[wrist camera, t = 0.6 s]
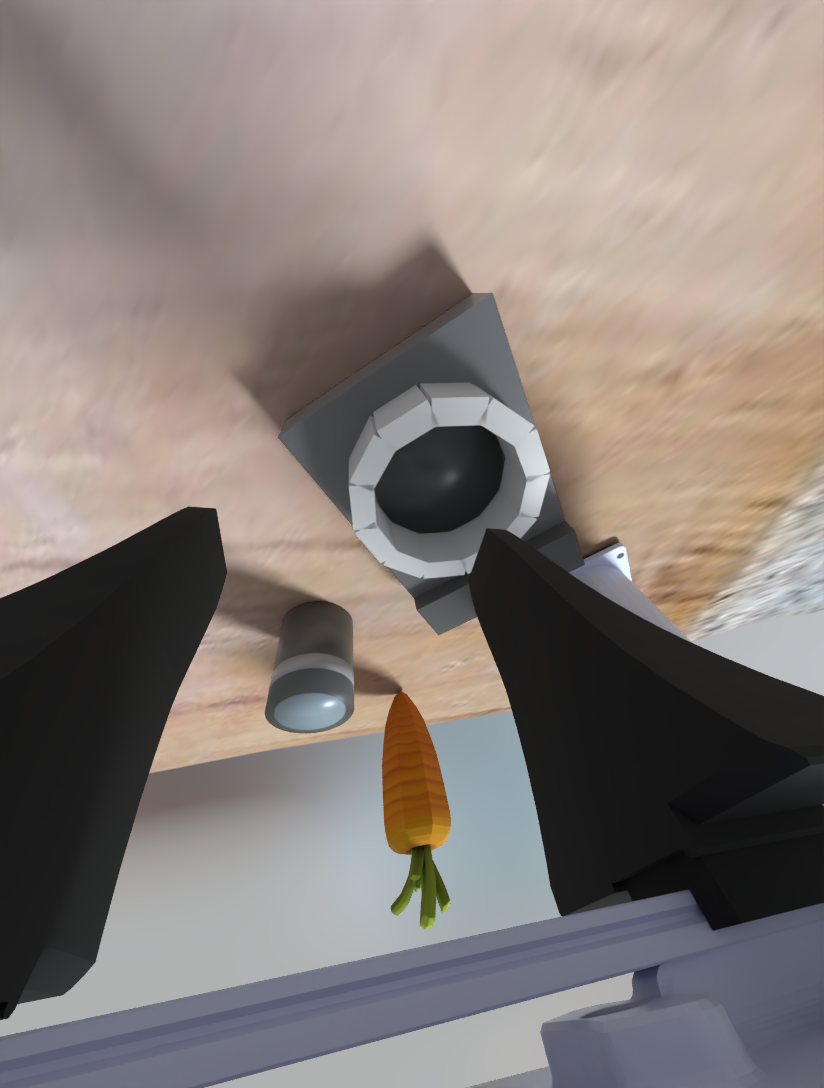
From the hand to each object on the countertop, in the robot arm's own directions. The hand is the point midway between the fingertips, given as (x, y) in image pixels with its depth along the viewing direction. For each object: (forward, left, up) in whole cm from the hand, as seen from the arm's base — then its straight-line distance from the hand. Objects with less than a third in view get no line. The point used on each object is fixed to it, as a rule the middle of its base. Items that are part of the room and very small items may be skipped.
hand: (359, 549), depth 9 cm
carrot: (-22, +10, -10) cm, 26 cm away
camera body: (-5, -3, -10) cm, 11 cm away
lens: (-10, +10, -10) cm, 17 cm away
